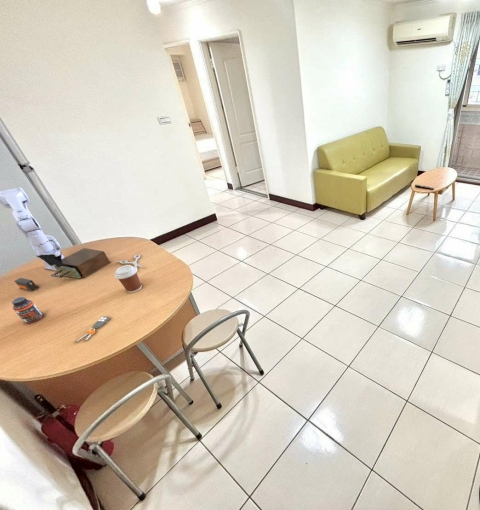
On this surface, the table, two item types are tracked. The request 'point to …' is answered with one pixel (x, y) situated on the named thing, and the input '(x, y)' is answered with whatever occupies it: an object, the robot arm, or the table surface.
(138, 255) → the scissors
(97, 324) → the key chain
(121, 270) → the coffee cup
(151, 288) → the table surface
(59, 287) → the table surface
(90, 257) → the cabinet
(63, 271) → the drawer
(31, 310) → the supplement bottle
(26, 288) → the black block with tab
